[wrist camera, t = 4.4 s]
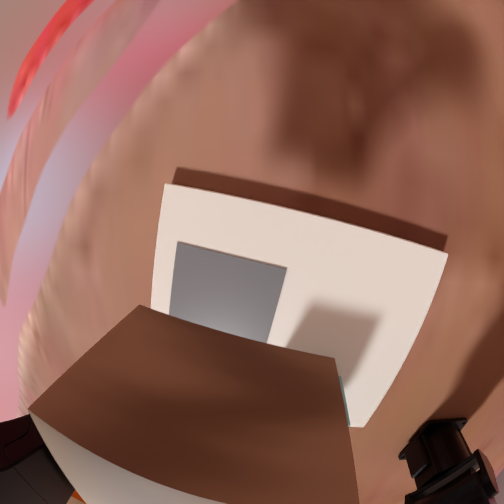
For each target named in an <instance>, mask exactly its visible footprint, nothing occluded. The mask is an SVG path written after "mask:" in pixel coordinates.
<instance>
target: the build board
mask: <svg viewBox="0 0 504 504" xmlns="http://www.w3.org/2000/svg"><path fill="white" fill-rule="evenodd" d="M447 257H448V254H447V253H445V252H443V251H441V250H438V249H435V248H432V247H429V246H425V245H422V244H419V243H416V242H413V241H410V240H406V239H403V238H400V237H396V236H393V235H390V234H386V233H383V232H379V231H376V230H372V229H369V228H365V227H362V226H358V225H355V224H351V223H347V222H343V221H340V220H336V219H332V218H328V217H324V216H321V215H317V214H313V213H309V212H305V211H300V210H296V209H292V208H288V207H284V206H280V205H275V204H271V203H266V202H262V201H258V200H253V199H248V198H244V197H239V196H234V195H229V194H225V193H220V192H215V191H210V190H205V189H199V188H194V187H189V186H183V185H178V184H172V183H165V186H164V192H163V199H162V205H161V212H160V219H159V226H158V234H157V242H156V251H155V260H154V271H153V282H152V296H151V309H153V310H156V311H159V312H162V313H165V314H168V315H171V316H174V317H177V318H180V319H183V320H186V321H189V322H192V323H196V324H199V325H202V326H205V327H209V328H212V329H215V330H219V331H222V332H226V333H230V334H233V335H237V336H240V337H244V338H248V339H252V340H256V341H260V342H264V343H268V344H272V345H276V346H280V347H284V348H289V349H293V350H298V351H302V352H307V353H312V354H317V355H322V356H327V357H332V358H335V362H336V366H337V371H338V376H341V378H342V383H343V388H344V393H345V398H346V403H347V409H348V414H349V420H350V426H351V427H364V426H365V424H366V423H367V422H368V420H369V419H370V417H371V416H372V414H373V413H374V411H375V410H376V408H377V407H378V405H379V404H380V402H381V400H382V399H383V397H384V396H385V394H386V392H387V391H388V389H389V387H390V386H391V384H392V382H393V380H394V379H395V377H396V375H397V373H398V372H399V370H400V368H401V366H402V364H403V362H404V361H405V359H406V357H407V355H408V353H409V351H410V349H411V347H412V345H413V343H414V341H415V339H416V337H417V334H418V332H419V330H420V328H421V326H422V323H423V321H424V319H425V317H426V314H427V312H428V310H429V307H430V305H431V302H432V300H433V297H434V295H435V292H436V289H437V287H438V284H439V281H440V278H441V275H442V272H443V269H444V266H445V263H446V260H447Z"/></svg>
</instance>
